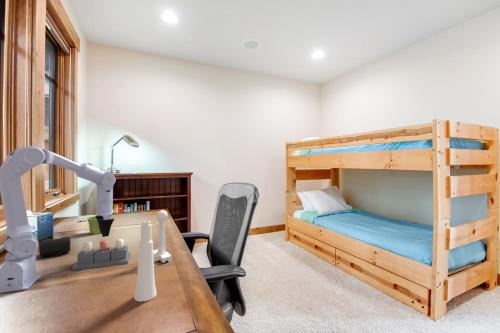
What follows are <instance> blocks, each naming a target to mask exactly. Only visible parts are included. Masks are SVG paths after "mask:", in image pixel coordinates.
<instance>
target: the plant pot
mask: <svg viewBox="0 0 500 333" xmlns="http://www.w3.org/2000/svg"><path fill="white" fill-rule="evenodd" d="M95 216H96V215H94V216H90V217H87V218H86V220H87V223H88V228H89V234H90V235H98V234H102V233H101V232H100V229H99V224H98V221H97V219H96V217H95Z"/></svg>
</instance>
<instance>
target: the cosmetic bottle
mask: <svg viewBox="0 0 500 333" xmlns="http://www.w3.org/2000/svg"><path fill="white" fill-rule="evenodd" d="M140 226H141V227H140V241H139V243H138V244H139V245H138V255H137V256H138V257H137V258H138V260H137V275H136V283H135V284H136V285H135V291H134V296H133V298H134V301H136V302H143V301H144V302H147V301H148V302H149V301H151V300H153V299H154V298H155V297H156V296H157V289H156V282H155V262H154V256H153V250H154V241H153V240H152V223H151V220H144V221H142V224H141V225H140Z"/></svg>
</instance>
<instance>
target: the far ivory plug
mask: <svg viewBox="0 0 500 333" xmlns="http://www.w3.org/2000/svg"><path fill="white" fill-rule="evenodd" d="M124 242H125V239H124V238H119V239H115V247H116V250H121V249H124V246H125V245H124Z"/></svg>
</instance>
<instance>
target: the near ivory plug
mask: <svg viewBox="0 0 500 333" xmlns="http://www.w3.org/2000/svg"><path fill="white" fill-rule="evenodd" d="M82 245H83V246H82V247H83V248H82V250H83V253H90V252H92V249H93V241H84V242H83V243H82Z"/></svg>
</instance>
